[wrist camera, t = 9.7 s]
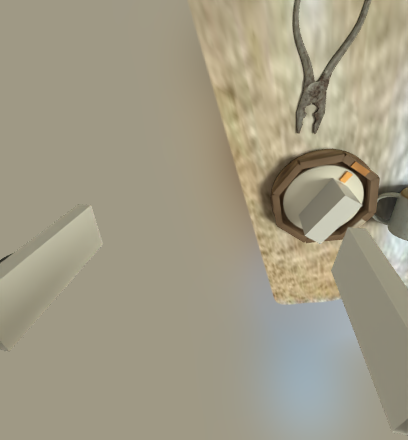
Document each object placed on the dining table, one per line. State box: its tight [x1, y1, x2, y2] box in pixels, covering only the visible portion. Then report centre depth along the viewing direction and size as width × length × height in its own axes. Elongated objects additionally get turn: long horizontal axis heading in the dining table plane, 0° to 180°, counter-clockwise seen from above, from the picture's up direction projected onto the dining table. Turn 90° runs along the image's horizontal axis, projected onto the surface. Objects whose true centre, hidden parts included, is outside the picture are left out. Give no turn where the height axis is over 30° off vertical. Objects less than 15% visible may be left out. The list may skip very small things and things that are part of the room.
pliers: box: [293, 0, 371, 134], centre depth 35 cm, size 10×1×20 cm
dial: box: [283, 164, 364, 244], centre depth 41 cm, size 14×14×8 cm
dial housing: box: [271, 149, 380, 243], centre depth 44 cm, size 18×18×4 cm
